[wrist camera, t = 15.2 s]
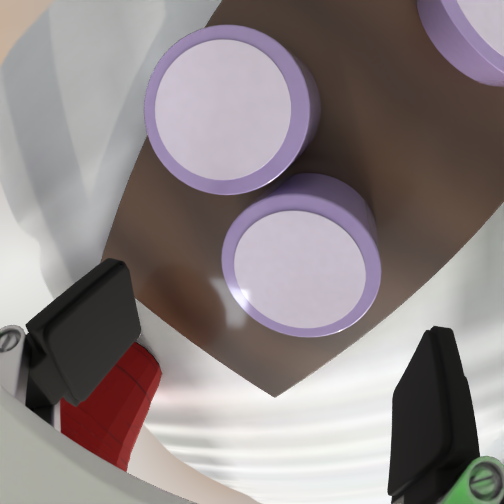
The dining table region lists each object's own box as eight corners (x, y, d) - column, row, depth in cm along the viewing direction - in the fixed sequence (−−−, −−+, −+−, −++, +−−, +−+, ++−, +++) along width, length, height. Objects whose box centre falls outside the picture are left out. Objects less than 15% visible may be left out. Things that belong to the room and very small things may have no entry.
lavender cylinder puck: (228, 19, 11) (192, -1, 8) (350, 90, 11) (348, 85, 8) (166, 128, 15) (121, 139, 12) (268, 200, 15) (243, 229, 12)
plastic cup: (143, 402, 31) (87, 481, 21) (78, 328, 28) (4, 403, 18) (212, 396, 25) (149, 508, 15) (132, 301, 23) (28, 410, 13)
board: (340, -120, 6) (338, -129, 5) (582, 66, 6) (591, 66, 5) (107, 260, 22) (98, 267, 21) (278, 388, 22) (274, 398, 21)
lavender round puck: (296, 144, 13) (277, 157, 10) (404, 232, 13) (416, 270, 10) (226, 243, 17) (195, 277, 14) (320, 314, 17) (309, 359, 14)
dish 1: (451, -59, 6) (469, -92, 3) (552, 34, 6) (590, 27, 3) (389, 16, 9) (399, -11, 6) (500, 116, 9) (539, 123, 6)
